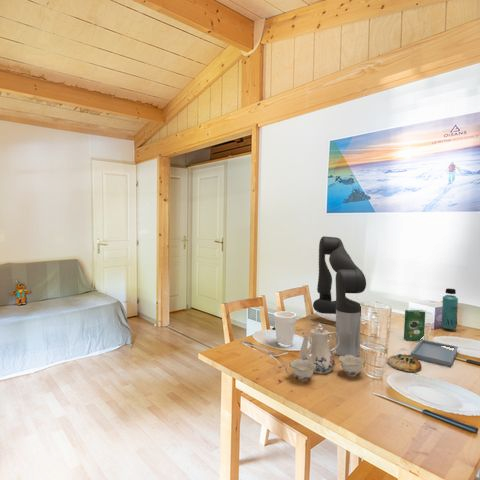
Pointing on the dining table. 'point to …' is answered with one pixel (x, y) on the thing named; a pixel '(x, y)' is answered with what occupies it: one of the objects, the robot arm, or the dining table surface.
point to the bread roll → (404, 363)
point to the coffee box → (414, 324)
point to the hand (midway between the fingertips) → (387, 316)
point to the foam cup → (285, 327)
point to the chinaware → (322, 357)
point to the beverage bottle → (449, 310)
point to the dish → (434, 353)
